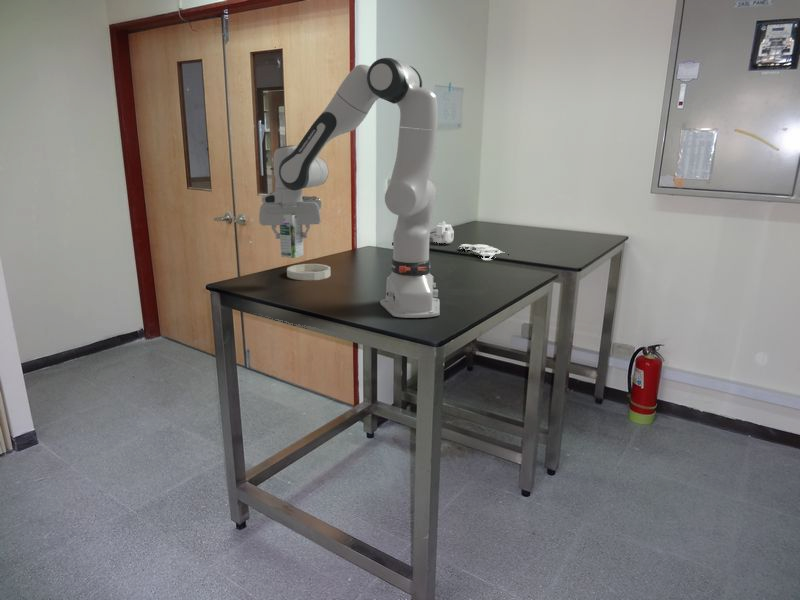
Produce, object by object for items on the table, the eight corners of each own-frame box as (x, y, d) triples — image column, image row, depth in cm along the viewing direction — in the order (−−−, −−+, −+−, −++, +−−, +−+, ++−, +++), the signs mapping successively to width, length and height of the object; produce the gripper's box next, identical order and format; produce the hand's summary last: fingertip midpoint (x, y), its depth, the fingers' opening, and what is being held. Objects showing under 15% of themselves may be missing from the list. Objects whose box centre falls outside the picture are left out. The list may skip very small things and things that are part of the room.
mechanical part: (435, 242, 279) (436, 219, 276) (456, 245, 273) (457, 221, 270) (424, 245, 270) (425, 221, 267) (446, 248, 264) (447, 224, 261)
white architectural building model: (469, 262, 236) (470, 252, 235) (456, 251, 260) (457, 242, 259) (520, 261, 239) (520, 251, 238) (502, 250, 263) (503, 241, 261)
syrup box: (280, 257, 183) (277, 214, 179) (290, 254, 188) (288, 212, 184) (294, 258, 181) (291, 214, 177) (304, 255, 186) (302, 213, 182)
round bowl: (330, 281, 197) (330, 272, 196) (285, 281, 195) (285, 273, 194) (330, 271, 212) (330, 263, 211) (289, 272, 210) (288, 264, 209)
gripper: (320, 195, 183) (322, 236, 187) (259, 196, 181) (262, 237, 185) (320, 196, 177) (322, 238, 181) (256, 197, 175) (260, 240, 179)
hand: (291, 238), depth 183 cm, fingers closed on syrup box, 7 cm apart
